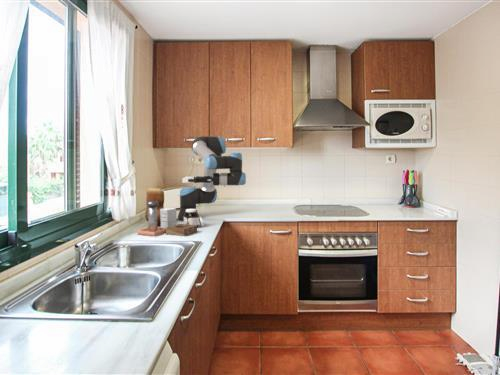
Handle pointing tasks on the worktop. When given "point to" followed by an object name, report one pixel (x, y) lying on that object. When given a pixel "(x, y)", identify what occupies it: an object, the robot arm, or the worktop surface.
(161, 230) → the tray
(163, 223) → the supplement box
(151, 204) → the metal plug
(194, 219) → the spread jar
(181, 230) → the bore block
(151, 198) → the butternut squash
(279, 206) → the worktop surface
